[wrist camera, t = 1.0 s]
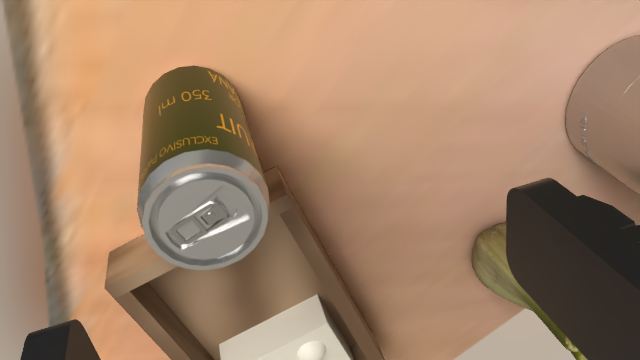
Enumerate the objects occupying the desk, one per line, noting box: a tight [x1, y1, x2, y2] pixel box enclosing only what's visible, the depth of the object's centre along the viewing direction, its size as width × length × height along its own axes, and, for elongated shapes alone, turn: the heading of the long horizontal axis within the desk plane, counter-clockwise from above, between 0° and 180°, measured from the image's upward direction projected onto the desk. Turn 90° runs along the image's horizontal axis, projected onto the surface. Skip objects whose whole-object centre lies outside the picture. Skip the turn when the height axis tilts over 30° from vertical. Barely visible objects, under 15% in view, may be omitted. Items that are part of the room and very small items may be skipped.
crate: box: [105, 166, 384, 360], centre depth 39 cm, size 12×18×4 cm, turn 24°
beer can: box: [137, 66, 270, 270], centre depth 28 cm, size 5×5×12 cm
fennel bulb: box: [472, 223, 587, 360], centre depth 39 cm, size 6×5×12 cm
